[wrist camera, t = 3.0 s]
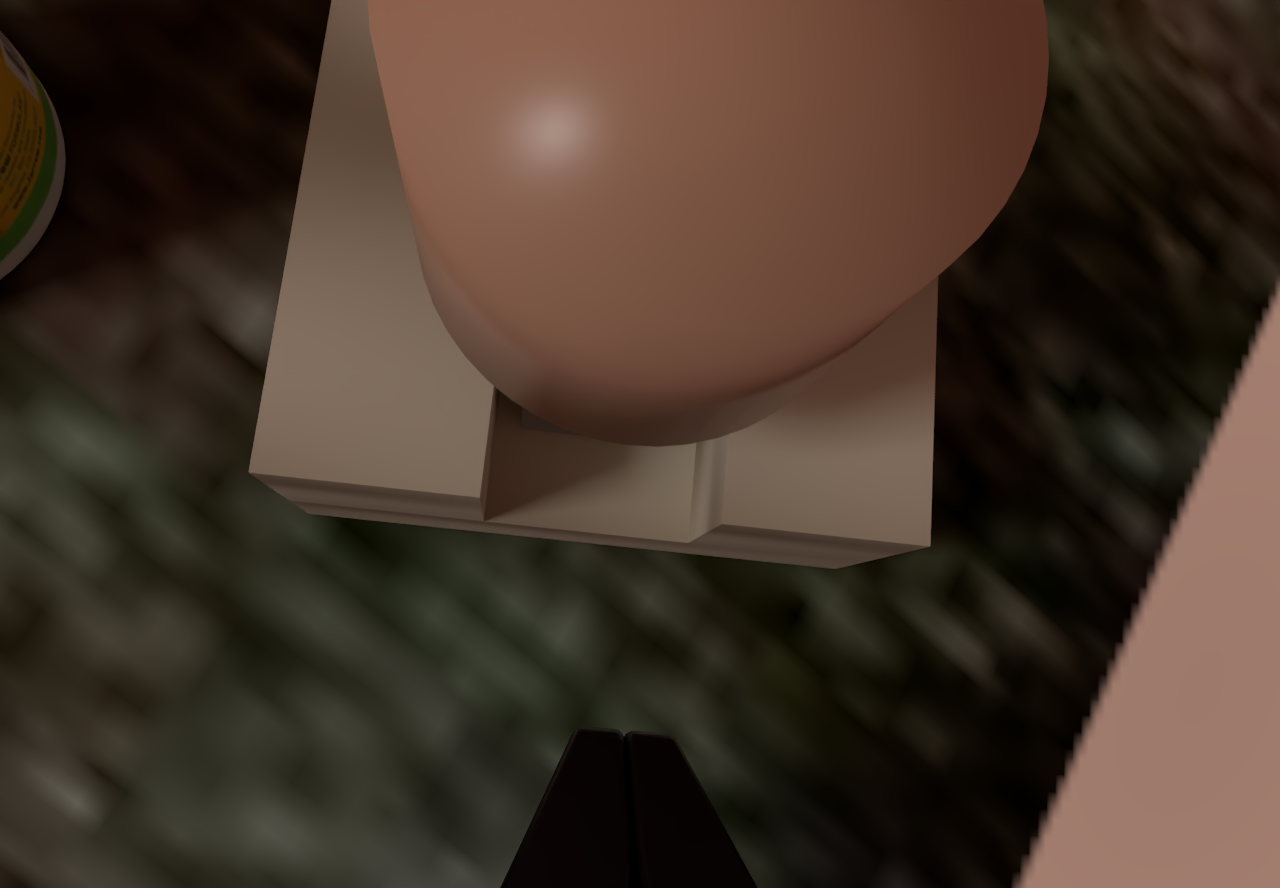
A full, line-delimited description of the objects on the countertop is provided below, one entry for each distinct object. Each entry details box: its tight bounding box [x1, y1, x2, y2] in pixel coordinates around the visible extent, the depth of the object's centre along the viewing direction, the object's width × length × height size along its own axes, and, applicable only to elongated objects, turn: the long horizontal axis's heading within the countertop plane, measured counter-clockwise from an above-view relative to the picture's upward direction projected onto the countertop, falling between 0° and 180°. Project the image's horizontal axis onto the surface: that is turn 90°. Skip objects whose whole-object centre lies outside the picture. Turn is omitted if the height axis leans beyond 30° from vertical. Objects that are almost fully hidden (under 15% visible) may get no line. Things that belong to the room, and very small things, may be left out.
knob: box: [368, 0, 1049, 447], centre depth 12 cm, size 5×5×9 cm
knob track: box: [249, 0, 938, 569], centre depth 16 cm, size 9×9×4 cm
